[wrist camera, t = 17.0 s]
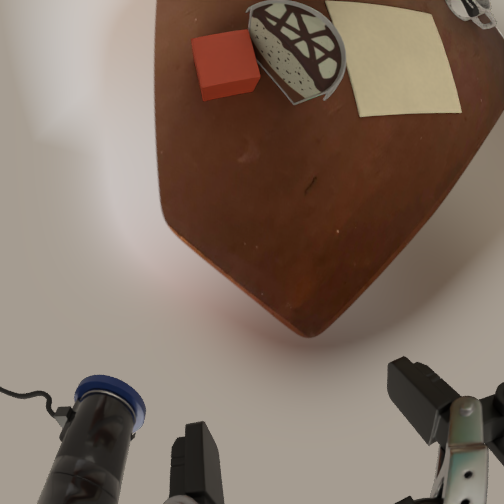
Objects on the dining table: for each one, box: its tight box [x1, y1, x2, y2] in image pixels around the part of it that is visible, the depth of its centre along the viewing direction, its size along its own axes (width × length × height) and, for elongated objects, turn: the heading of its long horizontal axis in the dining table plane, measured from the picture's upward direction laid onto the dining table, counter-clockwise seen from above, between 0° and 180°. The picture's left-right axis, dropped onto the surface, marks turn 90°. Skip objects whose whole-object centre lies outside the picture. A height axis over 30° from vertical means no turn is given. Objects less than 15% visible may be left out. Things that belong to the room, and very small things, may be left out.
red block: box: [191, 29, 261, 101], centre depth 29 cm, size 6×6×6 cm
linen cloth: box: [325, 1, 462, 117], centre depth 33 cm, size 20×18×1 cm
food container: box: [246, 0, 346, 105], centre depth 28 cm, size 12×6×10 cm, turn 39°
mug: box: [445, 0, 497, 29], centre depth 28 cm, size 10×7×7 cm
